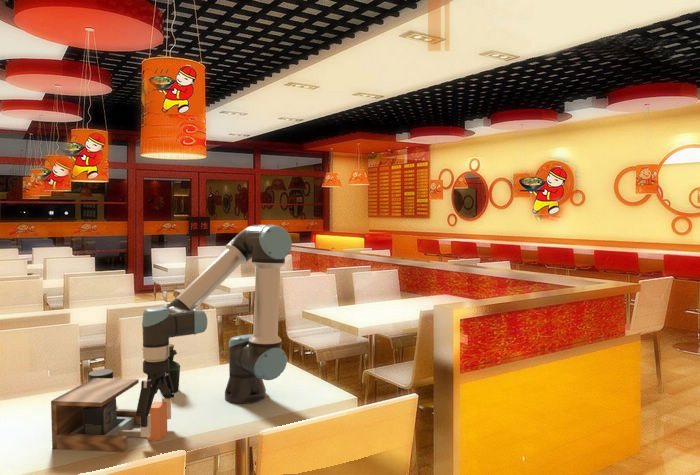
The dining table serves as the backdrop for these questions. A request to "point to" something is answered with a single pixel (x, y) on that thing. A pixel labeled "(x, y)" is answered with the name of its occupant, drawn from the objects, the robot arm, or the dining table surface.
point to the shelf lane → (71, 415)
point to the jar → (101, 374)
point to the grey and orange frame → (157, 430)
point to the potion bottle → (174, 368)
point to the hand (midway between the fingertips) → (156, 427)
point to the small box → (100, 418)
